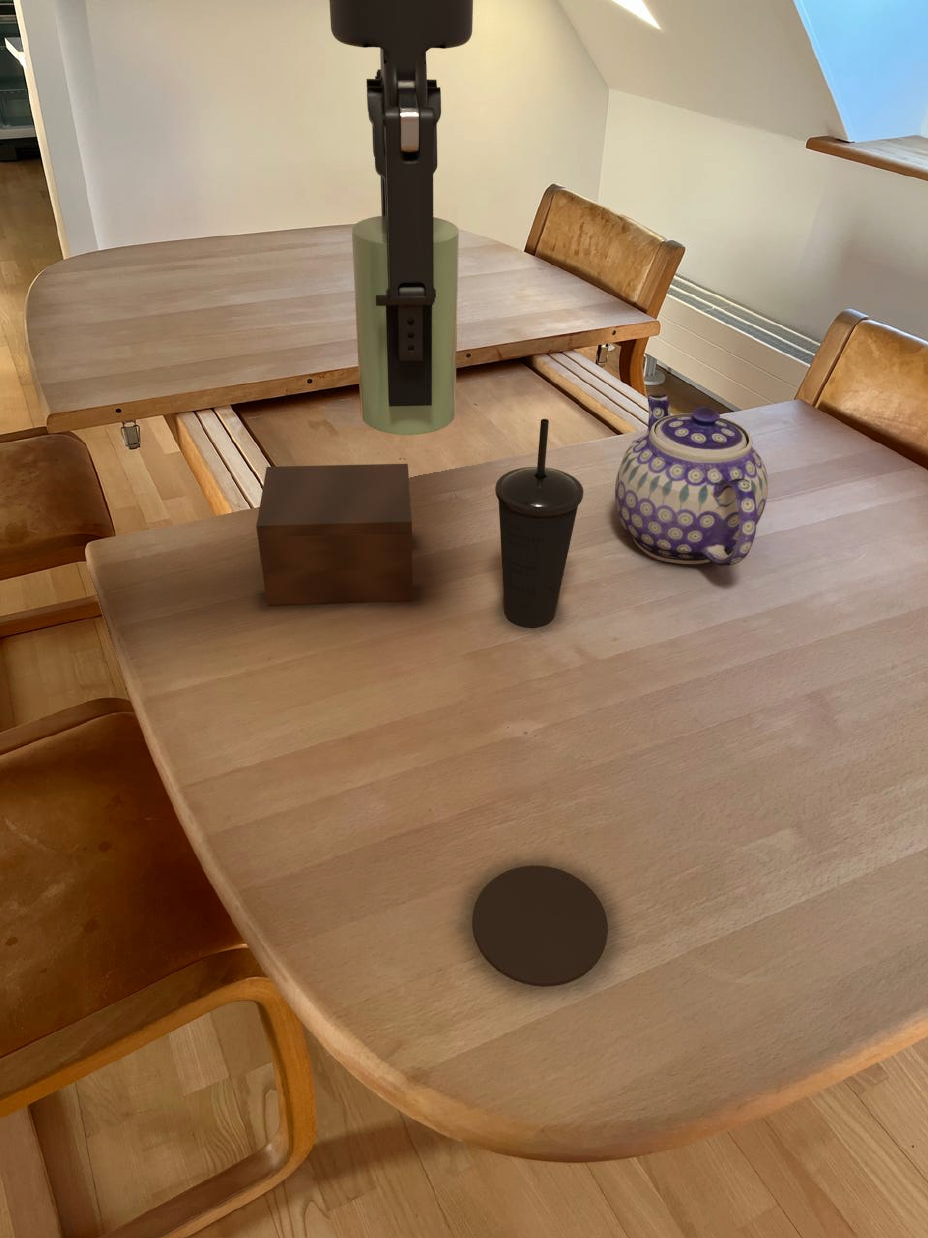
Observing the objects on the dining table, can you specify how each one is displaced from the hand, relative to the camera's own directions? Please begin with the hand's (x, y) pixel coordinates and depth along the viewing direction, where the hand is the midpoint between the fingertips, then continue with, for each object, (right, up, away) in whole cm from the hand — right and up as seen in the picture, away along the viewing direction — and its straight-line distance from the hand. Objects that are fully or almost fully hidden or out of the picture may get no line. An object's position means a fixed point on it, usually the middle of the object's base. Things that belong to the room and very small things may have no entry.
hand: (407, 379), depth 62 cm
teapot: (+27, -7, +39) cm, 48 cm away
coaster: (+9, -36, +1) cm, 37 cm away
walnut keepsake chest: (-9, -11, +33) cm, 35 cm away
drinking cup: (+10, -15, +28) cm, 33 cm away
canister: (0, -2, +2) cm, 2 cm away
